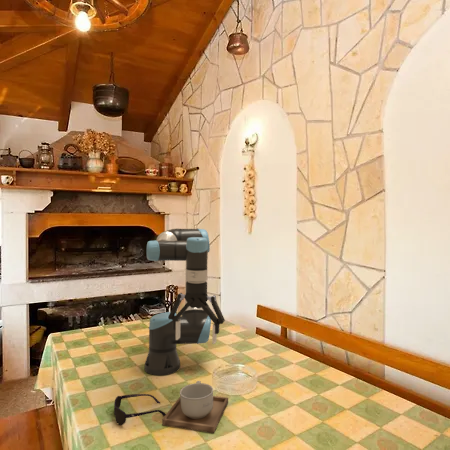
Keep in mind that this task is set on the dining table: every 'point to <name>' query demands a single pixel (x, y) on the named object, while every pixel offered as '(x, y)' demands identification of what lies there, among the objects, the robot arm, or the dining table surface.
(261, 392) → the dining table surface
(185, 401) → the teacup
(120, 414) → the sunglasses
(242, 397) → the dining table surface
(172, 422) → the tray
